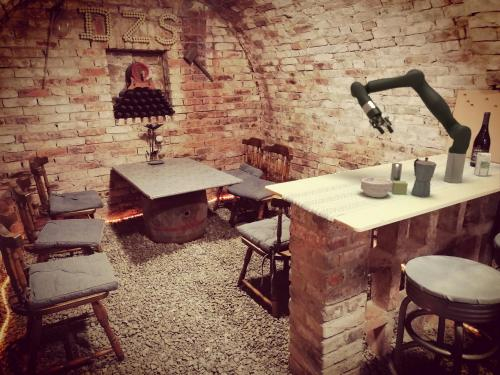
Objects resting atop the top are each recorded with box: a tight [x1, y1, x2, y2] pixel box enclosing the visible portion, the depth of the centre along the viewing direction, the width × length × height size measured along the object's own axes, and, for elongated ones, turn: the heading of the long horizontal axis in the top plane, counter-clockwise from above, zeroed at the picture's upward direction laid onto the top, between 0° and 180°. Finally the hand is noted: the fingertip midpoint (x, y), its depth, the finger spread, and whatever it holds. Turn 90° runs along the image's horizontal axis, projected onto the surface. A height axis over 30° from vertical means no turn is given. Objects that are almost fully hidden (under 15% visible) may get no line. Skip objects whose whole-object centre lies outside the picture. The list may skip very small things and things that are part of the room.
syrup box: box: [473, 152, 492, 177], centre depth 225 cm, size 6×6×14 cm
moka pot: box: [411, 157, 437, 198], centre depth 181 cm, size 10×15×20 cm, turn 16°
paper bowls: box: [360, 177, 393, 198], centre depth 182 cm, size 15×15×8 cm
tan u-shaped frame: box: [390, 180, 409, 196], centre depth 191 cm, size 16×10×6 cm, turn 171°
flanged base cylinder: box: [389, 162, 403, 181], centre depth 192 cm, size 6×6×14 cm
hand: (387, 132), depth 195 cm, fingers open, 8 cm apart
